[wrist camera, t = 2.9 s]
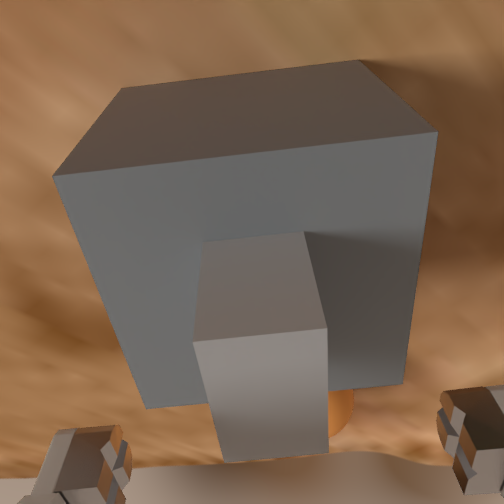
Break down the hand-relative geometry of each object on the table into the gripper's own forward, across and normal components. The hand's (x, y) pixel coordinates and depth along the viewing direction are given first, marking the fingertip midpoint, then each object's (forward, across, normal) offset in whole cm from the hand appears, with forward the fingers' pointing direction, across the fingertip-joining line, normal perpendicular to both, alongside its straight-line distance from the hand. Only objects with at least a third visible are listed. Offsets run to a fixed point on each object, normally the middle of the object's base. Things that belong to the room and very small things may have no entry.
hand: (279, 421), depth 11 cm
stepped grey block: (+13, 0, -1) cm, 13 cm away
